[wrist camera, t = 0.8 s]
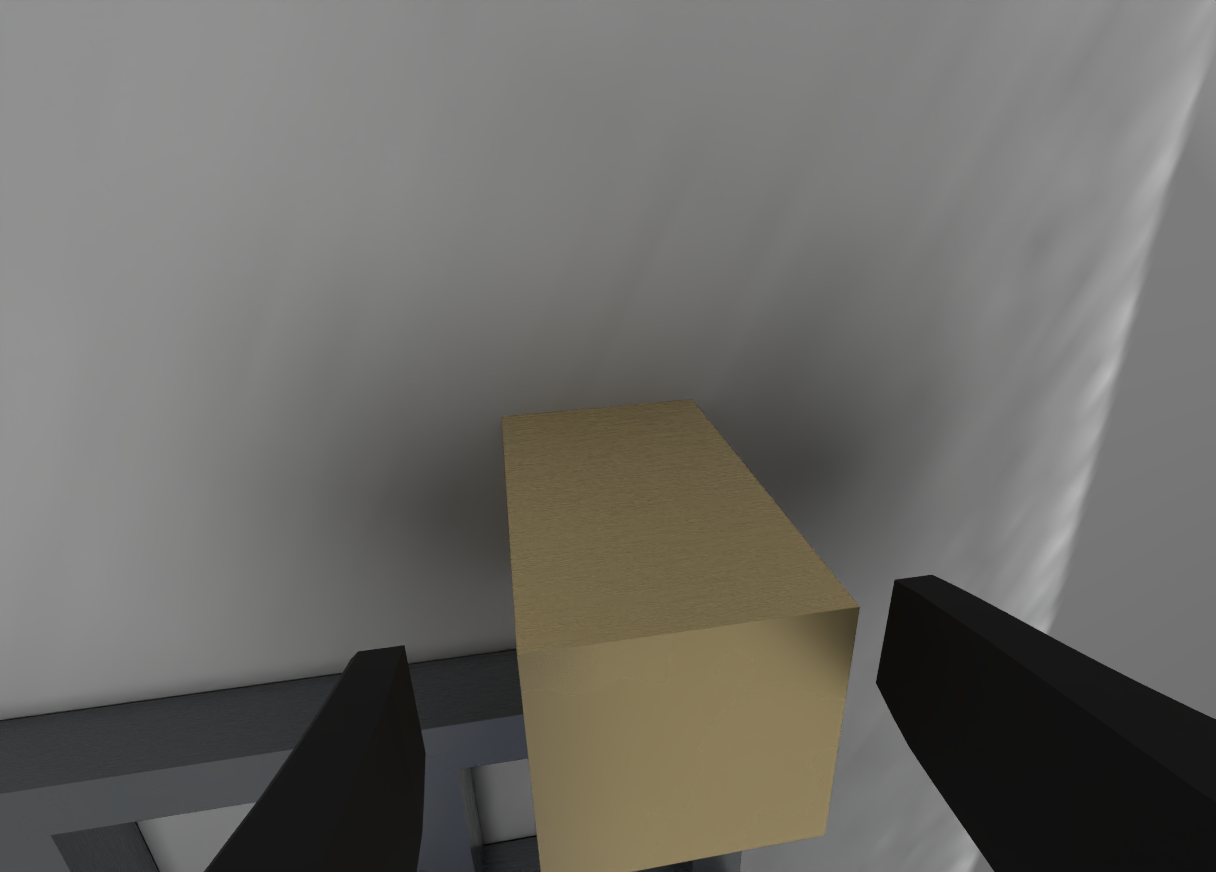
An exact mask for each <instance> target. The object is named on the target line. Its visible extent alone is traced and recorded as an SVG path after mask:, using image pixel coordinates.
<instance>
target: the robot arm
mask: <svg viewBox="0 0 1216 872" xmlns="http://www.w3.org/2000/svg"><path fill="white" fill-rule="evenodd" d="M876 684H877V686H878V688H879V690H880V692H881V694H882V696H883V698H884V700H885V702H886V704H887V706H888V708H889V710H890V712H891V714H892V716H893V718H894V720H895V722H896V724H897V725H898V727H899V729H900V731H901V733H902V735H903V736H904V738H905V740H906V742H907V744H908V746H909V747H910V749H911V750H912V752H913V753H914V755H915V756H916V758H917V760H918V761H919V763H920V764H921V766H922V767H923V768H924V770H925V771H926V773H927V774H928V776H929V777H930V779H931V780H932V782H933V783H934V785H935V786H936V788H937V789H938V791H939V792H940V794H941V795H942V796H943V798H944V799H945V801H946V802H947V804H948V805H949V807H950V808H951V810H952V811H953V812H954V814H955V815H956V817H957V818H958V820H959V821H960V823H961V824H962V825H963V827H964V828H965V830H966V831H967V833H968V834H969V836H970V837H971V838H972V840H973V841H974V843H975V844H976V846H977V847H978V849H979V850H980V852H981V853H982V854H983V856H984V857H985V859H986V860H987V862H988V863H989V864H990V866H991V867H992V869H993V870H994V872H1216V719H1214V718H1211V717H1209V716H1207V715H1205V714H1203V713H1201V712H1199V711H1196V710H1194V709H1192V708H1190V707H1188V706H1186V705H1184V704H1182V703H1180V702H1178V701H1176V700H1173V699H1172V698H1170V697H1167V696H1165V695H1163V694H1161V693H1159V692H1157V691H1155V690H1153V689H1151V688H1149V687H1147V686H1145V685H1143V684H1141V683H1139V682H1137V681H1135V680H1133V679H1131V678H1129V677H1127V676H1125V675H1123V674H1121V673H1119V672H1117V671H1115V670H1113V669H1111V668H1109V667H1107V666H1105V665H1103V664H1101V663H1099V662H1097V661H1095V660H1094V659H1092V658H1090V657H1088V656H1086V655H1084V654H1082V653H1080V652H1078V651H1077V650H1075V649H1073V648H1071V647H1069V646H1067V645H1065V644H1063V643H1061V642H1060V641H1057V640H1056V639H1054V638H1052V637H1050V636H1048V635H1047V634H1045V633H1043V632H1041V631H1039V630H1037V629H1035V628H1034V627H1032V626H1030V625H1028V624H1026V623H1024V622H1022V621H1021V620H1019V619H1017V618H1015V617H1013V616H1011V615H1010V614H1008V613H1006V612H1004V611H1002V610H1000V609H998V608H997V607H995V606H993V605H991V604H989V603H987V602H985V601H983V600H982V599H980V598H978V597H976V596H974V595H972V594H970V593H968V592H966V591H964V590H962V589H960V588H959V587H957V586H955V585H953V584H950V583H948V582H946V581H944V580H942V579H940V578H938V577H936V576H933V575H927V576H919V577H912V578H904V579H897V580H895V581H894V586H893V592H892V597H891V603H890V608H889V614H888V619H887V625H886V630H885V636H884V641H883V647H882V652H881V658H880V663H879V669H878V674H877V680H876ZM425 760H426V752H425V747H424V742H423V737H422V732H421V727H420V722H419V717H418V712H417V707H416V702H415V697H414V692H413V686H412V681H411V676H410V671H409V666H408V661H407V656H406V651H405V646H404V645H403V646H396V647H389V648H381V649H374V650H366V651H359V652H357V653H356V654H355V656H354V657H353V658H352V659H351V660H350V662H349V663H348V665H347V667H346V668H345V670H344V672H343V673H342V675H341V676H340V678H339V680H338V681H337V683H336V684H335V686H334V688H333V689H332V691H331V693H330V694H329V696H328V697H327V699H326V700H325V702H324V704H323V705H322V707H321V708H320V710H319V711H318V713H317V714H316V716H315V718H314V719H313V721H312V722H311V724H310V725H309V727H308V728H307V730H306V731H305V733H304V734H303V736H302V737H301V739H300V740H299V742H298V743H297V745H296V746H295V748H294V749H293V751H292V752H291V753H290V755H289V756H288V758H287V759H286V761H285V762H284V764H283V765H282V766H281V768H280V769H279V771H278V772H277V774H276V775H275V777H274V778H273V779H272V781H271V782H270V784H269V785H268V787H267V788H266V790H265V791H264V792H263V794H262V795H261V797H260V798H259V799H258V801H257V802H256V804H255V805H254V806H253V808H252V809H251V810H250V812H249V813H248V814H247V816H246V817H245V818H244V820H243V821H242V822H241V824H240V825H239V826H238V828H237V829H236V830H235V832H234V833H233V834H232V835H231V837H230V838H229V839H228V841H227V842H226V843H225V845H224V846H223V847H222V849H221V850H220V851H219V853H218V854H217V855H216V857H215V858H214V859H213V861H212V862H211V863H210V865H209V866H208V867H207V868H206V870H205V871H204V872H417V867H418V860H419V853H420V846H421V838H422V831H423V811H424V789H425Z"/></svg>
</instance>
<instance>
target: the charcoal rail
mask: <svg viewBox="0 0 1216 872" xmlns="http://www.w3.org/2000/svg"><path fill="white" fill-rule="evenodd" d="M408 666H409V671H410V676H411V681H412V686H413V692H414V697H415V702H416V707H417V712H418V717H419V722H420V727H421V732H422V737H423V742H424V747H425V752H426V760H425V789H424V811H423V831H422V838H421V846H420V853H419V860H418V867H417V872H541V868H540V859H539V850H538V841H537V837H532V838H526V839H520V840H515V841H509V842H503V843H498V844H492V845H487V846H483V841H482V835H481V829H480V822H479V816H478V810H477V804H476V797H475V791H474V785H473V779H472V772H471V767H476V766H482V765H489V764H495V763H501V762H507V761H513V760H520V759H526V758H528V750H527V741H526V732H525V723H524V713H523V704H522V695H521V686H520V677H519V668H518V659H517V650H512V651H505V652H498V653H491V654H483V655H476V656H469V657H462V658H454V659H447V660H440V661H433V662H426V663H418V664H411V665H408ZM341 675H342V674H339V675H332V676H324V677H317V678H310V679H303V680H296V681H288V682H281V683H274V684H267V685H259V686H252V687H245V688H238V689H230V690H223V691H216V692H209V693H202V694H194V695H187V696H180V697H173V698H165V699H158V700H151V701H144V702H137V703H129V704H122V705H115V706H108V707H100V708H93V709H86V710H79V711H72V712H64V713H57V714H50V715H43V716H35V717H28V718H21V719H14V720H7V721H0V872H158V870H157V868H156V866H155V863H154V861H153V859H152V857H151V855H150V853H149V851H148V849H147V846H146V844H145V842H144V840H143V838H142V836H141V834H140V832H139V830H138V827H137V825H136V823H135V821H142V820H148V819H154V818H160V817H166V816H173V815H179V814H185V813H191V812H197V811H204V810H210V809H216V808H222V807H228V806H235V805H241V804H247V803H253V802H257V801H258V799H259V798H260V797H261V795H262V794H263V792H264V791H265V790H266V788H267V787H268V785H269V784H270V782H271V781H272V779H273V778H274V777H275V775H276V774H277V772H278V771H279V769H280V768H281V766H282V765H283V764H284V762H285V761H286V759H287V758H288V756H289V755H290V753H291V752H292V751H293V749H294V748H295V746H296V745H297V743H298V742H299V740H300V739H301V737H302V736H303V734H304V733H305V731H306V730H307V728H308V727H309V725H310V724H311V722H312V721H313V719H314V718H315V716H316V714H317V713H318V711H319V710H320V708H321V707H322V705H323V704H324V702H325V700H326V699H327V697H328V696H329V694H330V693H331V691H332V689H333V688H334V686H335V684H336V683H337V681H338V680H339V678H340V676H341ZM740 863H741V851H738V852H733V853H728V854H723V855H717V856H712V857H707V858H702V859H697V860H691V861H686V862H681V863H676V864H670V865H665V866H660V867H655V868H649V869H644V870H639V871H634V872H740Z"/></svg>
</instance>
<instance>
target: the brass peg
mask: <svg viewBox="0 0 1216 872" xmlns="http://www.w3.org/2000/svg"><path fill="white" fill-rule="evenodd" d="M502 428H503V443H504V459H505V474H506V490H507V506H508V521H509V537H510V552H511V568H512V584H513V599H514V615H515V630H516V646H517V659H518V668H519V677H520V686H521V695H522V704H523V713H524V723H525V732H526V741H527V750H528V759H529V768H530V777H531V786H532V795H533V804H534V814H535V823H536V832H537V841H538V850H539V859H540V868H541V872H634V871H639V870H644V869H649V868H655V867H660V866H665V865H670V864H676V863H681V862H686V861H691V860H697V859H702V858H707V857H712V856H717V855H723V854H728V853H733V852H738V851H744V850H749V849H754V848H759V847H765V846H770V845H775V844H780V843H785V842H791V841H796V840H801V839H806V838H812V837H817V836H822V835H825V830H826V824H827V817H828V811H829V804H830V798H831V791H832V785H833V778H834V772H835V765H836V758H837V752H838V745H839V739H840V732H841V726H842V719H843V713H844V706H845V700H846V693H847V687H848V680H849V674H850V667H851V660H852V654H853V647H854V641H855V634H856V628H857V621H858V615H859V608H860V607H859V605H858V604H857V603H856V602H855V600H854V599H853V598H852V597H851V595H850V594H849V593H848V592H847V590H846V589H845V588H844V587H843V585H842V584H841V583H840V582H839V581H838V579H837V578H836V577H835V576H834V574H833V573H832V572H831V571H830V569H829V568H828V567H827V566H826V564H825V563H824V562H823V561H822V560H821V558H820V557H819V556H818V555H817V553H816V552H815V551H814V550H813V548H812V547H811V546H810V545H809V543H808V542H807V541H806V540H805V539H804V537H803V536H802V535H801V534H800V532H799V531H798V530H797V529H796V527H795V526H794V525H793V524H792V522H791V521H790V520H789V519H788V517H787V516H786V515H785V514H784V513H783V511H782V510H781V509H780V508H779V506H778V505H777V504H776V503H775V501H774V500H773V499H772V498H771V496H770V495H769V494H768V493H767V492H766V490H765V489H764V488H763V487H762V485H761V484H760V483H759V482H758V480H757V479H756V478H755V477H754V475H753V474H752V473H751V472H750V470H749V469H748V468H747V467H746V466H745V464H744V463H743V462H742V461H741V459H740V458H739V457H738V456H737V454H736V453H735V452H734V451H733V449H732V448H731V447H730V446H729V445H728V443H727V442H726V441H725V440H724V438H723V437H722V436H721V435H720V433H719V432H718V431H717V430H716V428H715V427H714V426H713V425H712V424H711V422H710V421H709V420H708V419H707V417H706V416H705V415H704V414H703V412H702V411H701V410H700V409H699V407H698V406H697V405H696V404H695V402H694V401H693V400H681V401H670V402H659V403H647V404H636V405H625V406H614V407H603V408H592V409H581V410H570V411H558V412H547V413H536V414H525V415H514V416H503V417H502Z"/></svg>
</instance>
